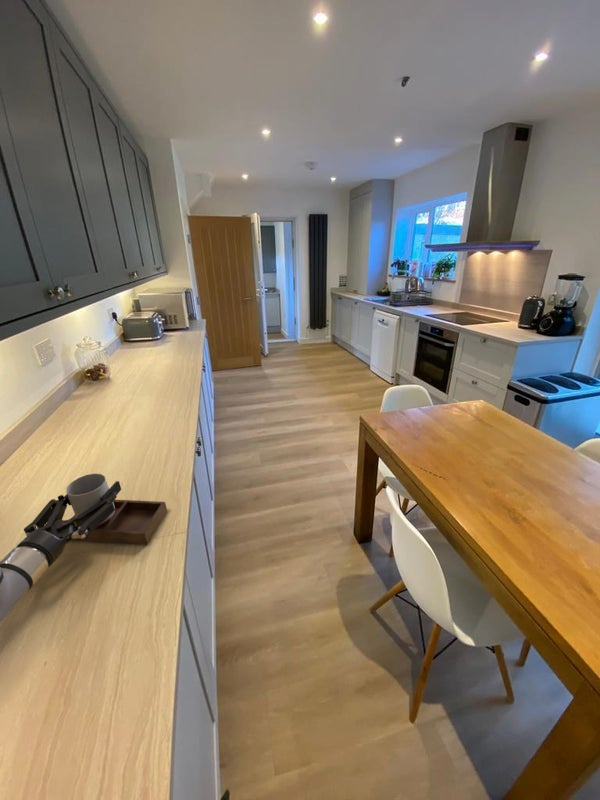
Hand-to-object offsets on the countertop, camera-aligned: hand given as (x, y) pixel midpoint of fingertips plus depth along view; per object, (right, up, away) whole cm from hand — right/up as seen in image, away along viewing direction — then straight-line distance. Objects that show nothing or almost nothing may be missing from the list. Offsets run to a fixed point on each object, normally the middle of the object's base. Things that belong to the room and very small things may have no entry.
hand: (102, 484), depth 85 cm
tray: (+5, -10, -1) cm, 12 cm away
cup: (0, -8, -2) cm, 8 cm away
